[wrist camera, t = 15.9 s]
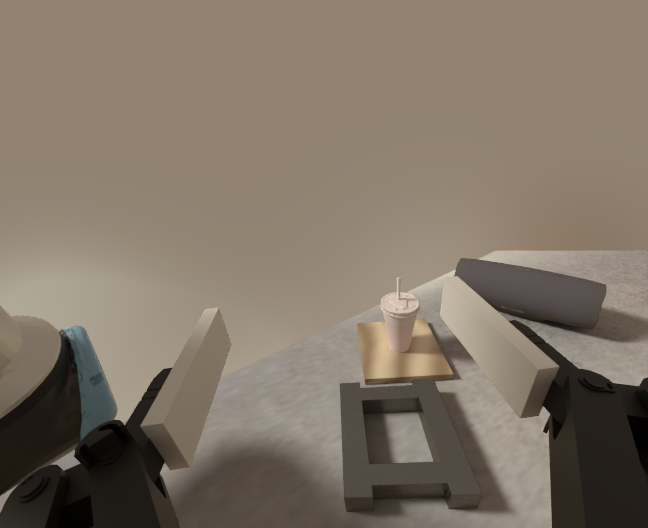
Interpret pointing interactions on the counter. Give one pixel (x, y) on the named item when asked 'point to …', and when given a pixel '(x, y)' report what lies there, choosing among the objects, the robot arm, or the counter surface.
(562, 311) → the bluetooth speaker
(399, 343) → the smoothie
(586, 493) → the robot arm
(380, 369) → the birch board
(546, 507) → the counter surface
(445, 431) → the dark grey flat frame
